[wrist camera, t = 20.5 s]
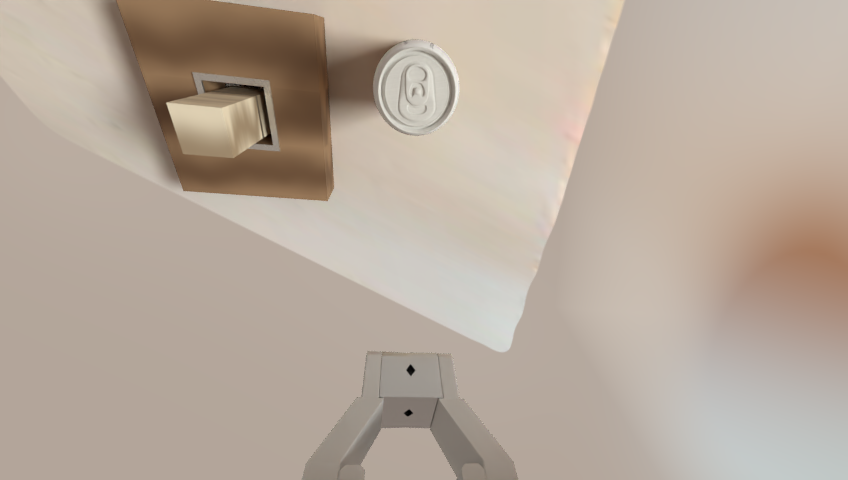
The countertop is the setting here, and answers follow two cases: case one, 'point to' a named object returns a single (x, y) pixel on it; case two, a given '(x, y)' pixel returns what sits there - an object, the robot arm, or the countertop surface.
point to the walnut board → (248, 65)
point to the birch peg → (220, 121)
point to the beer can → (416, 87)
